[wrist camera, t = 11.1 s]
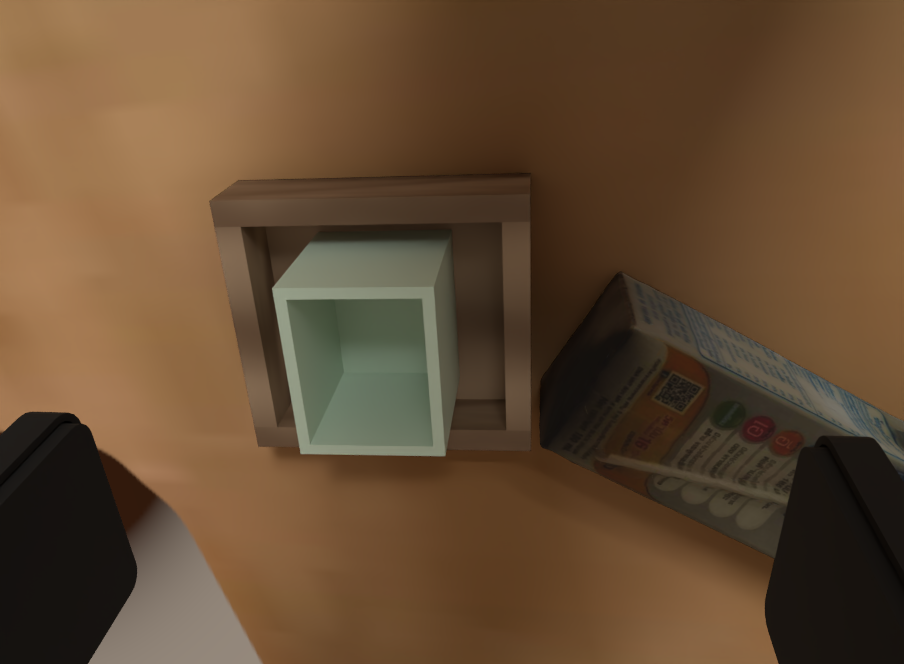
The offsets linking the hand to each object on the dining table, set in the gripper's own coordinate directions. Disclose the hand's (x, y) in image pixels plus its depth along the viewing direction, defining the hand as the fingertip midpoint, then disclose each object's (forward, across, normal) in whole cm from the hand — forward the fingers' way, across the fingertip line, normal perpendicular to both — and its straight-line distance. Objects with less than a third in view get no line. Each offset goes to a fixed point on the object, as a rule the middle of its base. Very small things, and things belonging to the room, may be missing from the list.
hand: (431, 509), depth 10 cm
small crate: (+25, +6, +10) cm, 27 cm away
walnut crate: (+26, +6, +10) cm, 28 cm away
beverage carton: (+26, -12, +16) cm, 32 cm away
